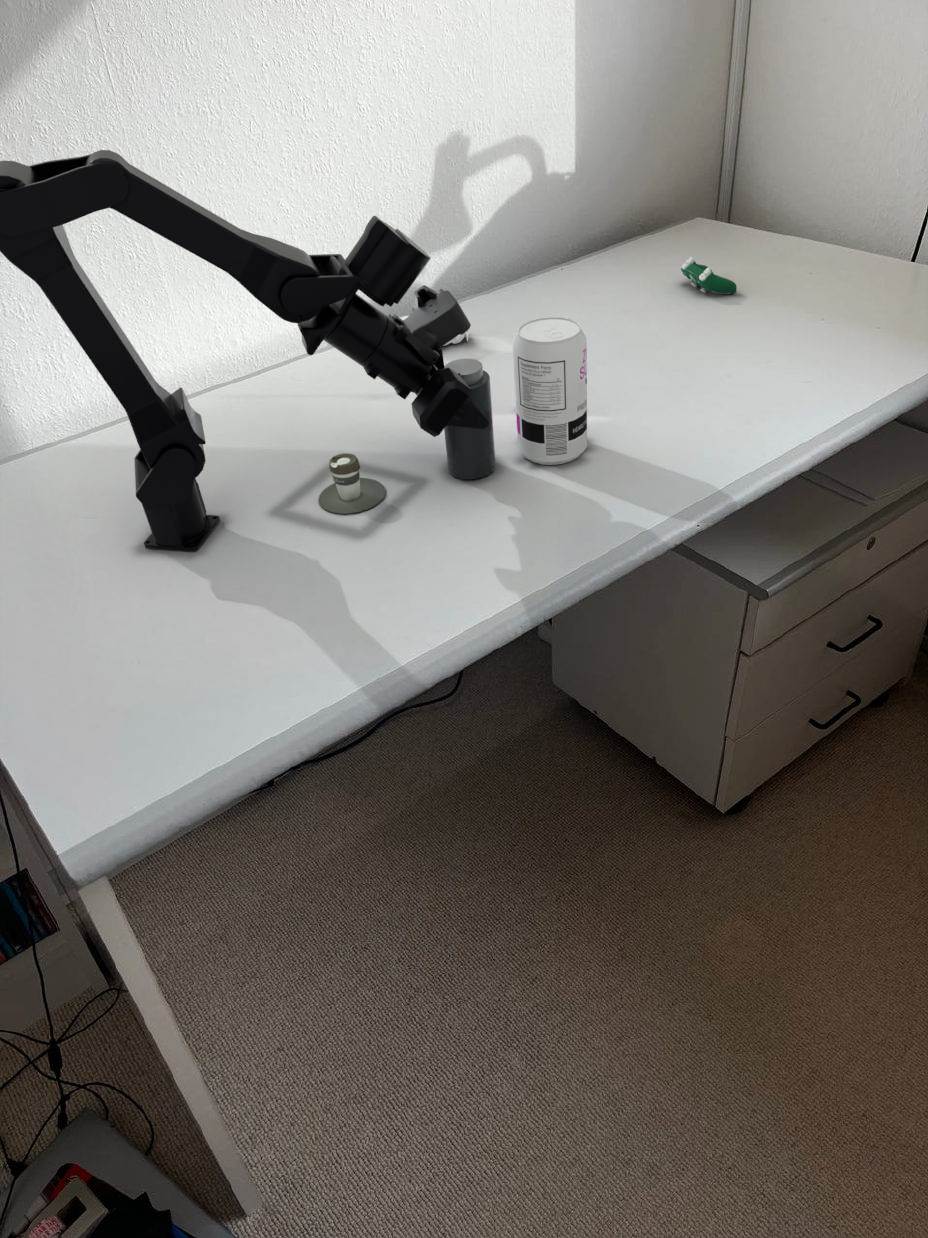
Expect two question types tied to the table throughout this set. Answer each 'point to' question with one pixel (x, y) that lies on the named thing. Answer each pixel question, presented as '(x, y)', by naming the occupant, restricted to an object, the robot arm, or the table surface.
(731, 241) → the table surface
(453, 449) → the flask
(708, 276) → the green toy car
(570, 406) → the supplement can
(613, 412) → the table surface
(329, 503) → the coffee cup
